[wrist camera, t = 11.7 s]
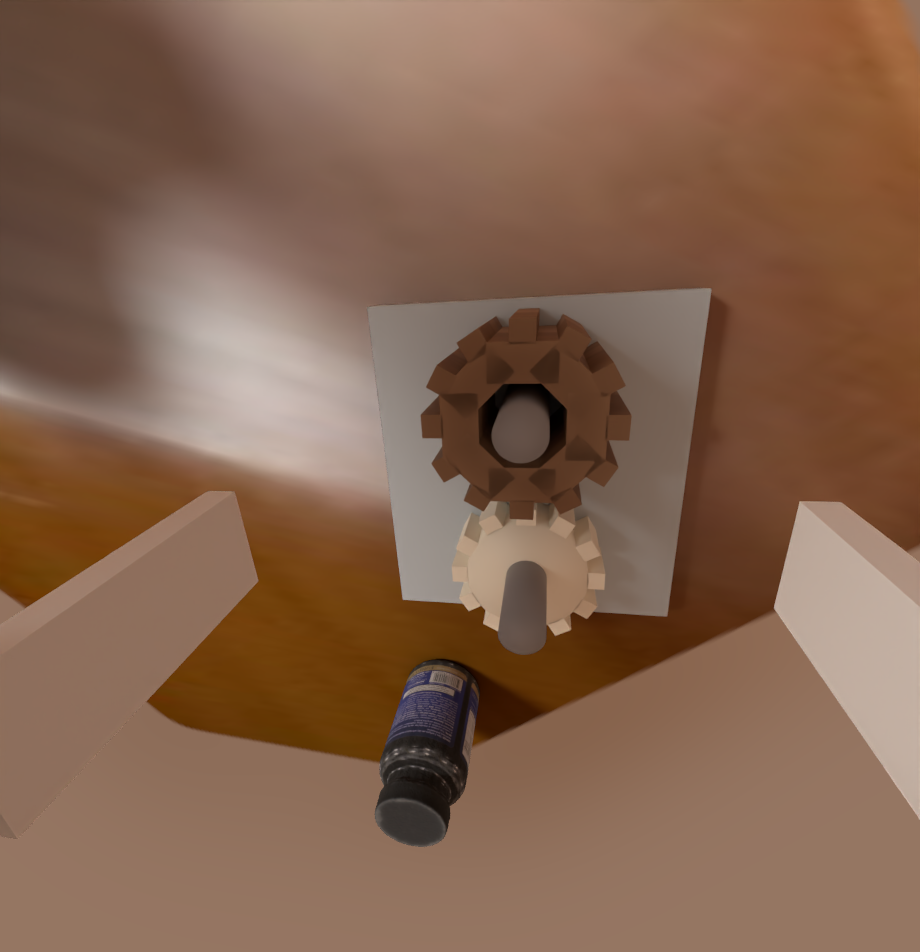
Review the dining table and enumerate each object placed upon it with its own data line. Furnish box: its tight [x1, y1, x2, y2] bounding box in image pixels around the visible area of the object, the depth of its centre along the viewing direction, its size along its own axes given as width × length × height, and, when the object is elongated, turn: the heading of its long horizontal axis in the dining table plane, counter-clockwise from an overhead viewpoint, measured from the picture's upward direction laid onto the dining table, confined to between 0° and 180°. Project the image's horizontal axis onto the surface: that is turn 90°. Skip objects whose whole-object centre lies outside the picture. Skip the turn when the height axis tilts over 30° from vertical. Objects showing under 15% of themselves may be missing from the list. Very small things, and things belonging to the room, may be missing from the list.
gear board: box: [367, 288, 712, 655], centre depth 26 cm, size 18×20×10 cm
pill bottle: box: [375, 660, 480, 847], centre depth 34 cm, size 6×6×11 cm
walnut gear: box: [421, 308, 632, 520], centre depth 24 cm, size 9×9×7 cm
